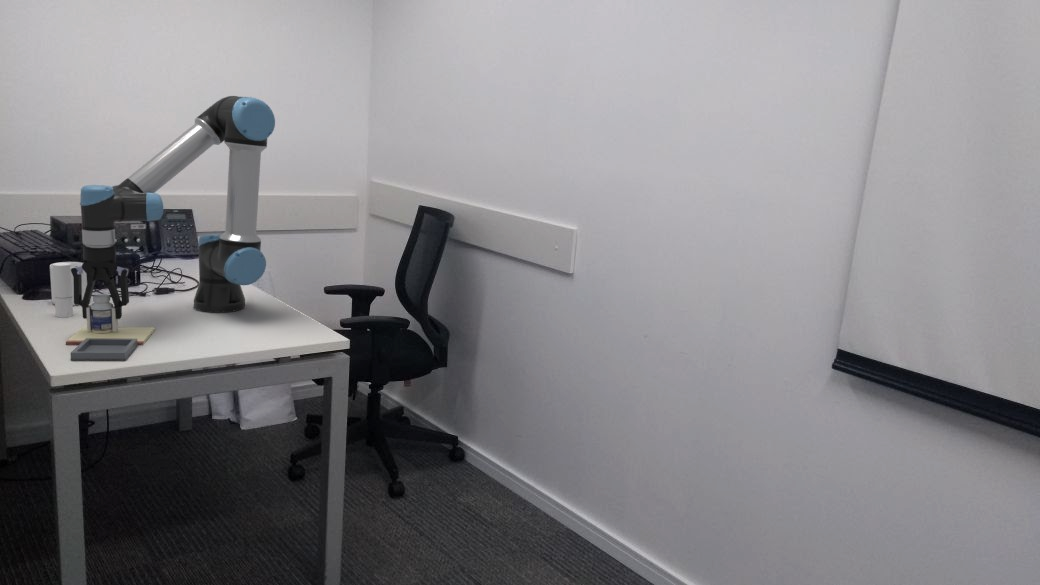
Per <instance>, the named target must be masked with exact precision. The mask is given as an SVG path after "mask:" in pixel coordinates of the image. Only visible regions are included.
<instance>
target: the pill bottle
mask: <svg viewBox="0 0 1040 585" xmlns="http://www.w3.org/2000/svg"><path fill="white" fill-rule="evenodd" d="M92 300H93V301H92V302H93V303H92V304H91V323H92V331H93V332H94V333H109V332H112V331H113V329H112V308H113V307H114V303H113V302H110V301H111V295H110V294H105V293H100V294H94V295H93V296H92Z"/></svg>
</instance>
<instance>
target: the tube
mask: <svg viewBox="0 0 1040 585" xmlns="http://www.w3.org/2000/svg"><path fill="white" fill-rule="evenodd" d="M52 264H53V263H52ZM53 278H54V294H55V304H54V305H55V306H54V308H55V310H54V311H55V317H56V318H70V317H73V316H74V306H73V303H72V285H71V267H70V263H59V262H55V263H54V264H53Z"/></svg>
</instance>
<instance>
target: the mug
mask: <svg viewBox="0 0 1040 585" xmlns="http://www.w3.org/2000/svg"><path fill="white" fill-rule="evenodd" d="M58 263H70V267H71V269H72V268H74V267H75V266H77V267H79V266H82V264H83V262H81V261H62V262H58ZM53 264H54V263H51V264H50V265H49V276H50V277H49V278H50V289H51V291H50V292H51V302H52V304H53V305H55V294H54V278H53ZM87 276H88V275H87V274H86V272H85V271H84V270H83V273H82V274H81V277H82V300H83V297H84V294H85V290H86V286H87V281H88V277H87ZM71 285H72V303H73V307H74V306H76V307H77V306H78V305H75V304H74V279H73V275H72V272H71Z"/></svg>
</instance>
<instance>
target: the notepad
mask: <svg viewBox="0 0 1040 585" xmlns="http://www.w3.org/2000/svg"><path fill="white" fill-rule="evenodd" d="M155 331H156V328H155V327H146V326H145V327H144V326H143V327H141V326H139V327H137V326H136V327H134V326H133V327H132V326H130V327H129V326H127V327H126V326H122V327H121V326H118V330H117V331H116V332H113V331H112V332H109V333H94V332H93V331H91V332H87V326H82V327H81V328H80V329H79V330H77V331H76V332H75V333H74V334H73V335H72V336H70V338H68V339H67V340H66V341H65V345H66V346H78V345H79V344H81V343H82V342H83V341H84V340H85V339H86V338H119V339H138V346H139V345H142V346H143V345H144V344H146V343H147V341H148V339H149V338H150V337H151V336H152V335H153V333H155ZM151 334H152V335H151ZM146 340H147V341H146Z"/></svg>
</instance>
